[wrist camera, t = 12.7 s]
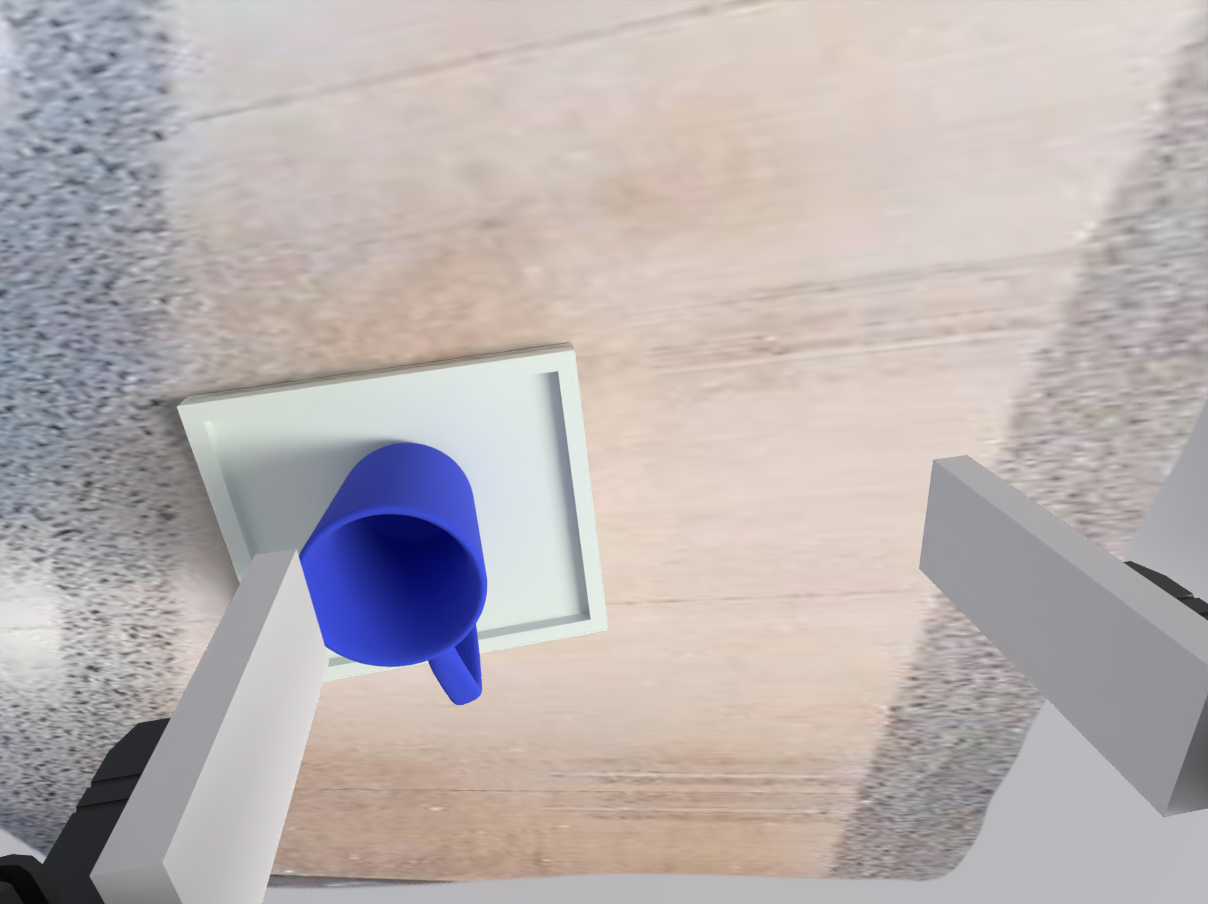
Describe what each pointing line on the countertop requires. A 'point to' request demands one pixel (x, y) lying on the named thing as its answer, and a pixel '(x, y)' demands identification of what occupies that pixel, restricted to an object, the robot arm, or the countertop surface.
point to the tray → (447, 423)
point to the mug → (402, 567)
